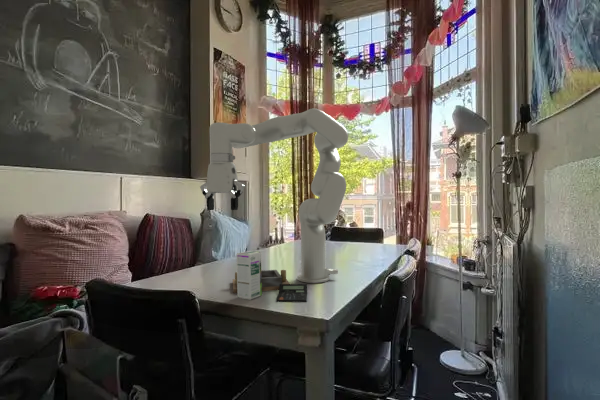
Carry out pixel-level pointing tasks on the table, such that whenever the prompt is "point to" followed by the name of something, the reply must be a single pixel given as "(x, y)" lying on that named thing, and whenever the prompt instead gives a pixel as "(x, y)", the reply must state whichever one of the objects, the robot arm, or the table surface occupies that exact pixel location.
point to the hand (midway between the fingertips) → (222, 209)
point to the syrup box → (249, 275)
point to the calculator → (292, 293)
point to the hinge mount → (268, 280)
